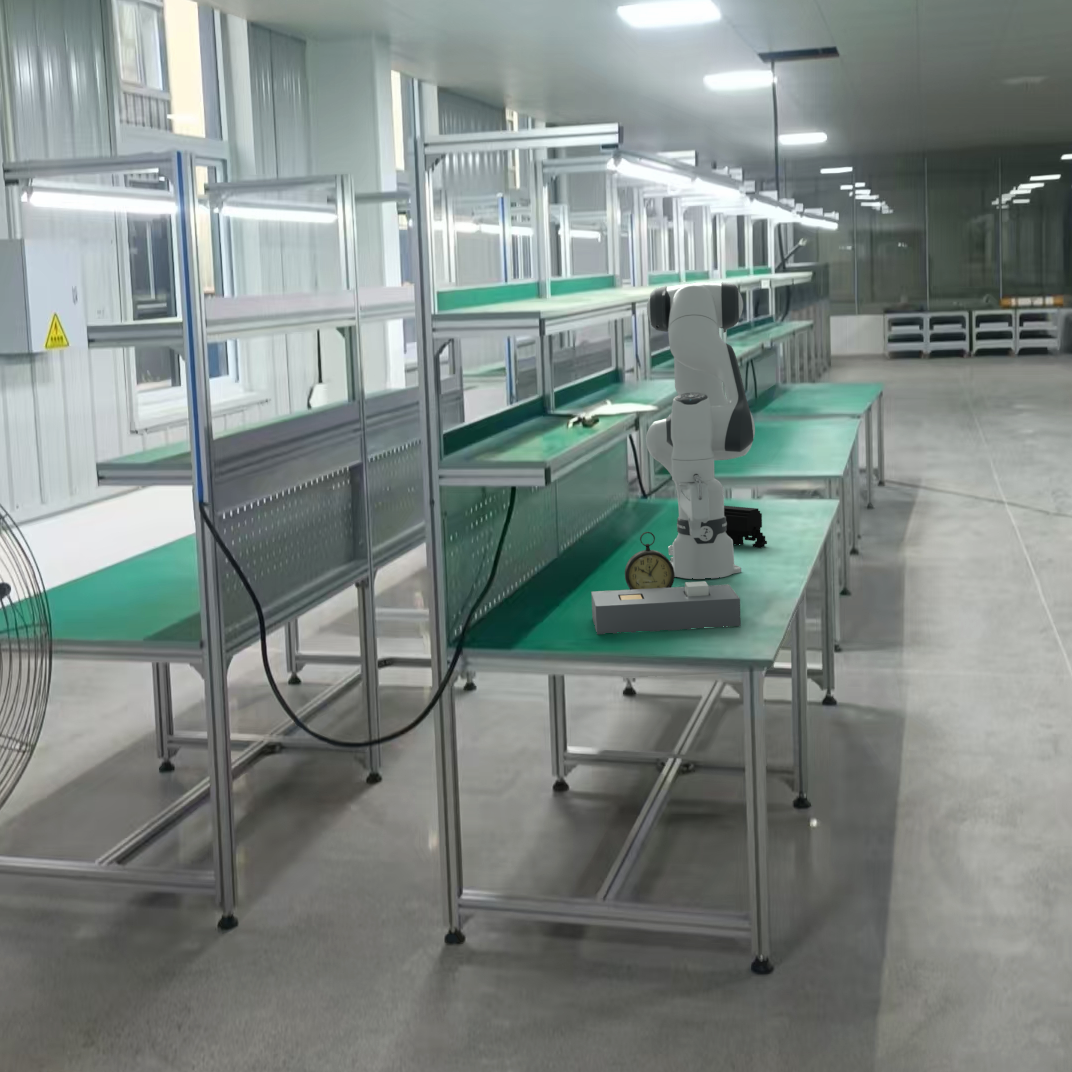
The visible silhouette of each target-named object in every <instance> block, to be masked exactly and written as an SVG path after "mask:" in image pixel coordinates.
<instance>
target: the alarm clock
mask: <svg viewBox="0 0 1072 1072" xmlns="http://www.w3.org/2000/svg"><path fill="white" fill-rule="evenodd" d="M645 534H650V535H651V536H652V537H653V540H652V542H651V543H646V544H645V543H644V542H642V538H643V536H644V535H645ZM655 540H656V537H655V535H654V534H653V532H651V531H645V532H643V533H642V534H641V535H640V537H639V541H640V543H641V544H642V545H643V546H645V549H644V550H641V551H638V552H636V553H635V554H633V555H632V556H631V557H630V558H629V559H628V561H627V563H626V565H625V569H624V580H625V582H626V586H628V590H633V589H651V588H670V587H673V585H674V582H675V577H674V568H673V566H672V564H671V562H670V560H669V558H668V557H667V556H666V555H664V554H663V553H661V552H660V551H659V550H656V549H655V550H654V549H651V548H650V546H653V544H654V543H655V542H656V541H655Z"/></svg>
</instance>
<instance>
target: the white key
mask: <svg viewBox="0 0 1072 1072" xmlns="http://www.w3.org/2000/svg"><path fill="white" fill-rule="evenodd" d="M708 585H709V584H708V583H707V582H706V580H705V581H688V582H687V581H686V582H684V587H685V595H686V597H688V596H707V595H709V586H708Z"/></svg>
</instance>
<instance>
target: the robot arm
mask: <svg viewBox="0 0 1072 1072" xmlns="http://www.w3.org/2000/svg"><path fill="white" fill-rule="evenodd" d="M743 310H744V301H743V297H742V295H741V293H740V291H739V288H738V287H737V285H736V284H734V283H730V282H723V281H722V282H721V283H716V282H694V283H687V284H685V283H684V284H678V285H672V286H667V285H663V286H660V287H659V286H658V287H656V288H654V289H653V290H652V291H651V292H650V294H649V298H648V300H647V303H646V315H647V318H648V320H649V322H650V325H651V327H653V329H655V331H659V332H663V333H664V332H666V333H668V344H669V350H670V353H671V355H672V356H673V362H674V363H673V365H674V388H675V391H676V393H677V395H676V396H675V397H674V398H673V399H672V405H671V406H672V407H671V413H670V414H669V415H668V416H667V417H666V418H663V419H659V420H655V421H653V422H652V423H651V424H650V426H649V427H648V430H647V431H646V435H645V445H646V448H647V451H648V453H649V455H650V456H651V458H653V459H654V460H655V461H656V462H658V463H659V464H661V465H662V467H664V468H665V469H666V470H667V471H668V473H669V475H670V476H671V479H672V481H673V482H674V484H675V489H676V493H677V494H676V495H677V503H678V506H677V508H678V517H677V520H676V521H677V522H676V530H677V533H678V534H677V536H676V538H675V539H673V540H674V541H673V542H672V544H670V545H669V546H668V555H669V556H671V557H670V558H669V559H670V560H669V561H670V562H671V564H672V566H673V568H674V578H676V577H677V578H681V579H690V580H706V579H705V578H711V579H718V578H719V577H720V578H724V577H729V576H731V575H732V574H737V573H738V574H739V573H742V567H741V566H739V565H737V564H735V552H734V545H733V540H732V539H731V538H730V537H729V536H728V535H727V534H726V532H725V531H726V530H727V529H726V525H727V521H726V517H725V516H724V506H725V496H724V495H725V494H724V492H725V491H724V487H723V486H724V485H723V484H722V483H721V481H719V480H718V479H716V478H715V461H726V460H727V461H728V460H732V459H737V458H741V457H744V456H746V455H747V454H748V453H749V451H751V448H752V445H753V442H754V439H755V433H756V427H755V419H754V416H753V415H752V412H751V409H750V406H749V403H748V399H747V395H746V392H745V387H744V383H743V379H742V375H741V370H740V366H739V362H738V358H737V356H736V353H735V350H734V348H733V347H732V346H731V345H730V344H728V343H726V342H725V341H724V340H723V338H721V336H720V333H719V329H722V331H723V332H722V333H723V334H724V333H726V332H727V330H729V329H731V328H733V327H735V326H736V325H737V324H738V323H739V321H740V319H741V316H742V315H743ZM723 387H724V388H723ZM692 578H693V579H692Z"/></svg>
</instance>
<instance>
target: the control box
mask: <svg viewBox="0 0 1072 1072" xmlns="http://www.w3.org/2000/svg"><path fill="white" fill-rule="evenodd" d="M708 586H709V595H707V596H688V597H686V595H685V586H672V587H670V588H651V589H633V590H630V589H620V590H619V589H617V590H598V591H596V590H595V591H591V592H590V593H591V612H592V615H591V616H592V622H593V624H594V625H595V626H594V629H595V632H597V633H596V635H606V634H605V633H613V634H618V633H617V632H620V633H619V634H622V633H621V632H631V633H637V632H636V631H650V632H661V631H660V630H668V631H683V630H682V629H687V630H692V629H691V628H704V627H723V626H724V628H730V627H729V626H741V625H742V624H741V598H740V597H739V595H738V594H737V593H736V591H735V590H734V589H733V587H732V586H731V584H727V583H726V584H714V585H713V584H711V585H709V584H708ZM622 595H641V597H642V599H632V600H620V596H622ZM726 626H728V627H726ZM680 629H681V630H680Z"/></svg>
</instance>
